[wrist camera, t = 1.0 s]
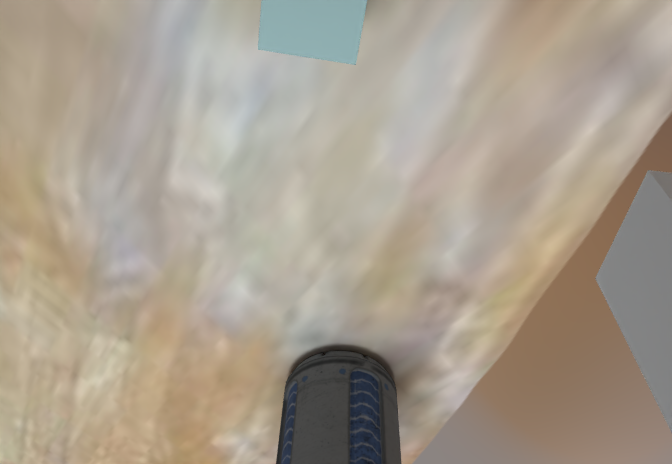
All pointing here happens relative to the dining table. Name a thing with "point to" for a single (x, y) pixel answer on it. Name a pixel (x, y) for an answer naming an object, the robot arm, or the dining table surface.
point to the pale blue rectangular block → (312, 28)
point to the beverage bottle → (339, 412)
